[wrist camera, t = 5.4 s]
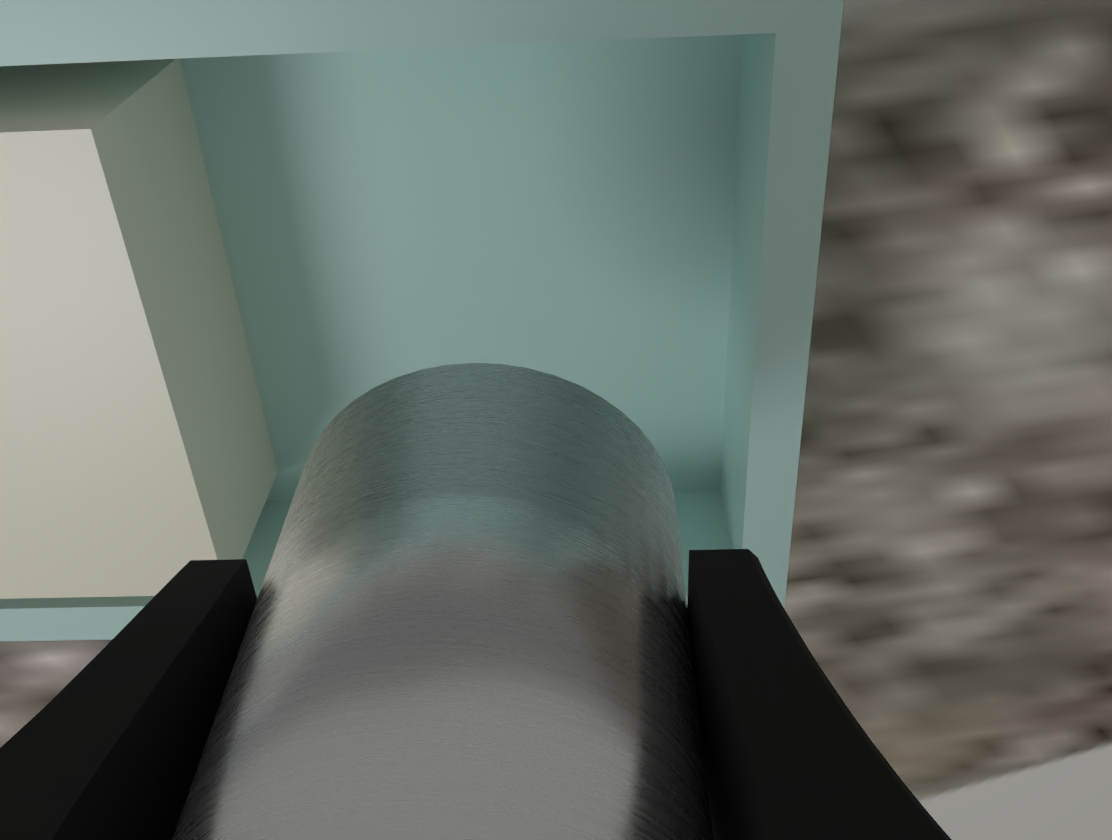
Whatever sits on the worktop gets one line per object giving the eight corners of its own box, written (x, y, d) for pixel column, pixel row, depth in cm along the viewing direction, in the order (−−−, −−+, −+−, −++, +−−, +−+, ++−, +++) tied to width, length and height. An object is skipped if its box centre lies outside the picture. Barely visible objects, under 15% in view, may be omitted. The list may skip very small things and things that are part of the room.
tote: (5, 508, 23) (-95, 642, 19) (-228, -41, 17) (-431, 19, 13) (752, 490, 22) (782, 627, 19) (793, -89, 16) (848, -39, 13)
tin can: (329, 652, 14) (160, 1302, 9) (267, 364, 12) (-38, 1026, 6) (669, 651, 14) (728, 1314, 8) (684, 360, 12) (784, 1034, 6)
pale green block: (30, 478, 21) (-59, 600, 18) (-134, 70, 17) (-287, 144, 14) (277, 471, 21) (227, 594, 18) (178, 56, 16) (90, 129, 13)
